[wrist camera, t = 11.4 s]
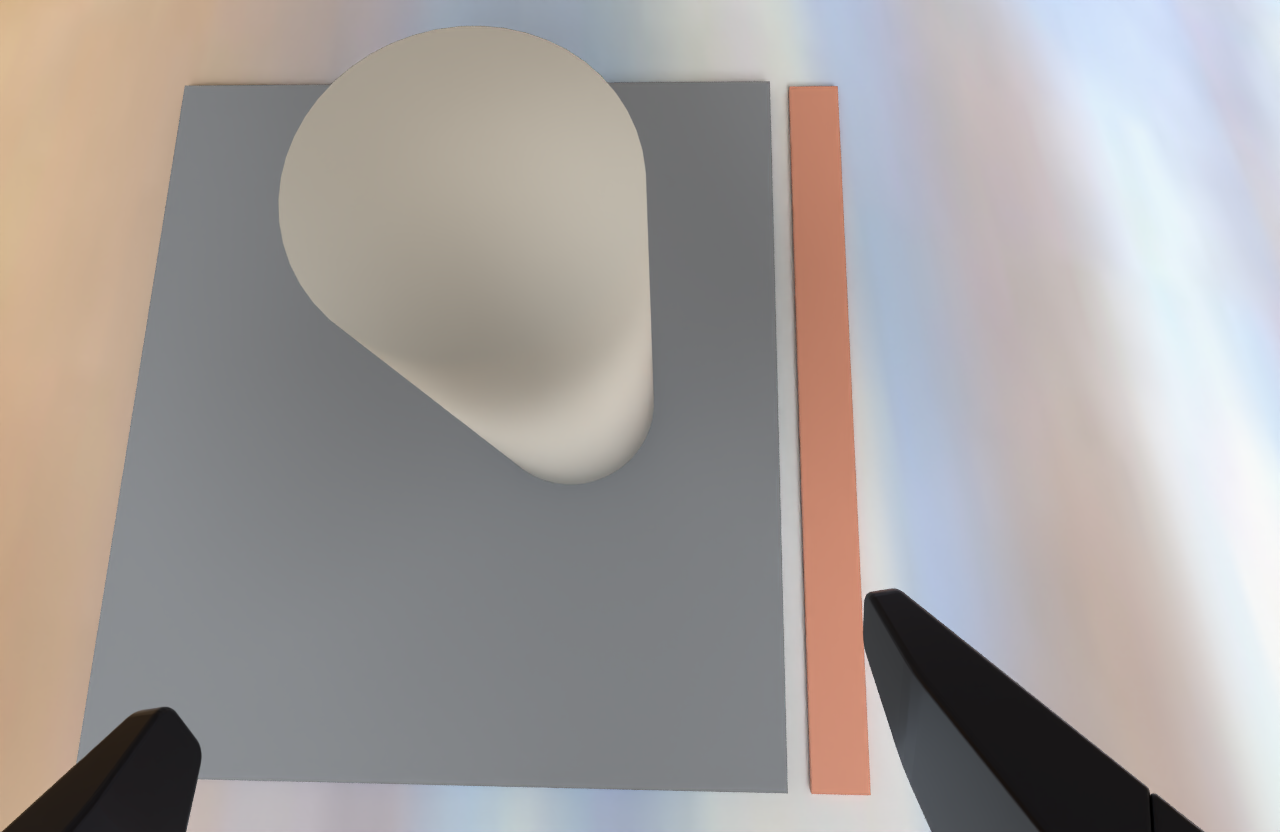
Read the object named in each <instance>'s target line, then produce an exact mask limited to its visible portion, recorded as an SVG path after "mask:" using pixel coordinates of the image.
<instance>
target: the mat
mask: <svg viewBox="0 0 1280 832" xmlns="http://www.w3.org/2000/svg"><path fill="white" fill-rule="evenodd" d="M608 84H609V85H610V87H611V88H612V89H613V90H614V91H615V92H616V94H617V95H618V97H619V98H620V100H621V102H622V103H623V105H624V106H625V108H626V109H627V111H628V113H629V115H630V117H631V119H632V122H633V124H634V126H635V128H636V130H637V134H638V137H639V140H640V144H641V147H642V150H643V157H644V163H645V170H646V192H647V221H648V250H649V278H650V307H651V336H652V365H653V393H654V409H653V417H652V421H651V425H650V429H649V431H648V434H647V436H646V438H645V440H644V442H643V443H642V445H641V447H640V448H639V450H638V451H637V452H636V454H635V455H634V456H633V457H632V458H631V459H630V460H629V461H628V462H627V463H626V464H625V465H624V466H622V467H621V468H620V469H618V470H617V471H615V472H613V473H612V474H610V475H608V476H606V477H604V478H601V479H599V480H596V481H592V482H589V483H583V484H558V483H553V482H549V481H545V480H542V479H540V478H537V477H535V476H533V475H531V474H530V473H528V472H526V471H525V470H523V469H522V468H521V467H519V466H518V465H517V464H516V463H514V462H513V461H512V460H510V459H509V458H508V457H507V456H505V455H504V454H503V453H501V452H500V451H499V450H497V449H496V448H495V447H494V446H492V445H491V444H490V443H488V442H487V441H486V440H485V439H483V438H482V437H481V436H479V435H478V434H477V433H475V432H474V431H473V430H472V429H470V428H469V427H468V426H466V425H465V424H464V423H463V422H461V421H460V420H459V419H457V418H456V417H455V416H453V415H452V414H451V413H450V412H448V411H447V410H446V409H444V408H443V407H442V406H441V405H439V404H438V403H437V402H435V401H434V400H433V399H431V398H430V397H429V396H428V395H426V394H425V393H424V392H422V391H421V390H420V389H419V388H417V387H416V386H415V385H413V384H412V383H411V382H410V381H408V380H407V379H406V378H404V377H403V376H402V375H400V374H399V373H398V372H397V371H395V370H394V369H393V368H391V367H390V366H389V365H388V364H386V363H385V362H384V361H382V360H381V359H380V358H378V357H377V356H376V355H375V354H373V353H372V352H371V351H369V350H368V349H367V348H366V347H364V346H363V345H362V344H360V343H359V342H358V341H356V340H355V339H354V338H353V337H351V336H350V335H349V334H347V333H346V332H345V331H344V330H342V329H341V328H340V327H338V326H337V325H336V324H335V323H333V322H332V321H331V320H329V319H328V318H327V316H326V315H325V314H324V313H323V312H322V311H321V310H320V309H319V308H318V307H317V306H316V305H315V304H314V303H313V302H312V300H311V299H310V297H309V296H308V295H307V293H306V292H305V290H304V289H303V288H302V286H301V285H300V283H299V281H298V279H297V277H296V275H295V273H294V271H293V269H292V267H291V265H290V263H289V260H288V257H287V254H286V251H285V248H284V245H283V241H282V235H281V229H280V224H279V202H278V199H279V190H280V181H281V175H282V171H283V167H284V163H285V159H286V156H287V153H288V151H289V148H290V146H291V143H292V141H293V138H294V136H295V134H296V132H297V130H298V129H299V127H300V125H301V123H302V121H303V120H304V118H305V116H306V115H307V113H308V112H309V111H310V109H311V108H312V106H313V105H314V104H315V102H316V101H317V100H318V98H319V97H320V96H321V95H322V94H323V93H324V92H325V91H326V90H327V89H328V88H329V86H330V85H217V86H185V89H184V95H183V101H182V107H181V114H180V120H179V126H178V132H177V139H176V145H175V151H174V157H173V164H172V170H171V176H170V182H169V189H168V195H167V201H166V207H165V214H164V220H163V226H162V232H161V239H160V245H159V251H158V257H157V264H156V270H155V276H154V282H153V288H152V295H151V301H150V307H149V313H148V320H147V326H146V332H145V338H144V345H143V351H142V357H141V363H140V370H139V376H138V382H137V388H136V395H135V401H134V407H133V413H132V420H131V426H130V432H129V438H128V445H127V451H126V457H125V463H124V470H123V476H122V482H121V488H120V495H119V501H118V507H117V513H116V520H115V526H114V532H113V538H112V545H111V551H110V557H109V563H108V570H107V576H106V582H105V588H104V595H103V601H102V607H101V613H100V620H99V626H98V632H97V638H96V644H95V651H94V657H93V663H92V669H91V676H90V682H89V688H88V694H87V701H86V707H85V713H84V719H83V726H82V732H81V738H80V744H79V751H78V757H77V763H78V762H79V761H80V760H81V759H82V758H83V757H84V756H86V755H87V754H88V753H89V752H90V751H91V750H92V749H93V748H94V747H95V746H97V745H98V744H99V743H100V742H101V741H102V740H103V739H104V738H105V737H106V736H107V735H109V734H110V733H111V732H112V731H113V730H114V729H115V728H116V727H117V726H118V725H120V724H121V723H122V722H123V721H124V720H125V719H126V718H127V717H129V716H130V715H131V714H133V713H135V712H137V711H140V710H145V709H151V708H158V707H170V708H172V709H174V710H175V711H176V712H177V714H178V715H179V716H180V718H181V719H182V720H183V722H184V723H185V724H186V726H187V727H188V728H189V730H190V731H191V732H192V734H193V735H194V736H195V738H196V739H197V740H198V742H199V744H200V747H201V753H202V759H201V766H200V771H199V775H198V779H212V780H254V781H296V782H338V783H380V784H422V785H464V786H506V787H547V788H589V789H631V790H673V791H715V792H757V793H788V788H787V748H786V708H785V669H784V629H783V589H782V550H781V510H780V470H779V431H778V391H777V351H776V312H775V272H774V232H773V193H772V153H771V114H770V82H636V83H608ZM77 763H76V764H77Z"/></svg>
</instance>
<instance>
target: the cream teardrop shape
mask: <svg viewBox="0 0 1280 832" xmlns="http://www.w3.org/2000/svg"><path fill="white" fill-rule="evenodd" d="M278 202H279V224H280V229H281V235H282V241H283V245H284V248H285V251H286V254H287V257H288V260H289V263H290V265H291V267H292V269H293V271H294V273H295V275H296V277H297V279H298V281H299V283H300V285H301V286H302V288H303V289H304V290H305V292H306V293H307V295H308V296H309V297H310V299H311V300H312V302H313V303H314V304H315V305H316V306H317V307H318V308H319V309H320V310H321V311H322V312H323V313H324V314H325V315H326V316H327V318H328V319H329V320H331V321H332V322H333V323H335V324H336V325H337V326H338V327H340V328H341V329H342V330H344V331H345V332H346V333H347V334H349V335H350V336H351V337H353V338H354V339H355V340H356V341H358V342H359V343H360V344H362V345H363V346H364V347H366V348H367V349H368V350H369V351H371V352H372V353H373V354H375V355H376V356H377V357H378V358H380V359H381V360H382V361H384V362H385V363H386V364H388V365H389V366H390V367H391V368H393V369H394V370H395V371H397V372H398V373H399V374H400V375H402V376H403V377H404V378H406V379H407V380H408V381H410V382H411V383H412V384H413V385H415V386H416V387H417V388H419V389H420V390H421V391H422V392H424V393H425V394H426V395H428V396H429V397H430V398H431V399H433V400H434V401H435V402H437V403H438V404H439V405H441V406H442V407H443V408H444V409H446V410H447V411H448V412H450V413H451V414H452V415H453V416H455V417H456V418H457V419H459V420H460V421H461V422H463V423H464V424H465V425H466V426H468V427H469V428H470V429H472V430H473V431H474V432H475V433H477V434H478V435H479V436H481V437H482V438H483V439H485V440H486V441H487V442H488V443H490V444H491V445H492V446H494V447H495V448H496V449H497V450H499V451H500V452H501V453H503V454H504V455H505V456H507V457H508V458H509V459H510V460H512V461H513V462H514V463H516V464H517V465H518V466H519V467H521V468H522V469H523V470H525V471H526V472H528V473H530V474H531V475H533V476H535V477H537V478H540V479H542V480H545V481H549V482H553V483H558V484H583V483H589V482H592V481H596V480H599V479H601V478H604V477H606V476H608V475H610V474H612V473H613V472H615V471H617V470H618V469H620V468H621V467H622V466H624V465H625V464H626V463H627V462H628V461H629V460H630V459H631V458H632V457H633V456H634V455H635V454H636V452H637V451H638V450H639V448H640V447H641V445H642V443H643V442H644V440H645V438H646V436H647V434H648V431H649V429H650V425H651V421H652V417H653V409H654V393H653V365H652V336H651V307H650V278H649V250H648V221H647V192H646V170H645V163H644V157H643V150H642V147H641V144H640V140H639V137H638V134H637V130H636V128H635V126H634V124H633V122H632V119H631V117H630V115H629V113H628V111H627V109H626V108H625V106H624V105H623V103H622V102H621V100H620V98H619V97H618V95H617V94H616V92H615V91H614V90H613V89H612V88H611V87H610V85H609V84H608V83H607V82H606V81H605V80H604V79H603V77H602V76H601V75H599V74H598V73H597V72H596V71H595V70H594V69H593V68H591V67H590V66H589V65H588V64H587V63H586V62H584V61H583V60H581V59H580V58H578V57H577V56H575V55H574V54H572V53H571V52H569V51H568V50H566V49H564V48H562V47H560V46H558V45H556V44H554V43H552V42H550V41H548V40H545V39H542V38H540V37H537V36H534V35H531V34H528V33H525V32H520V31H515V30H511V29H506V28H498V27H487V26H458V27H451V28H443V29H436V30H432V31H428V32H424V33H420V34H416V35H412V36H410V37H407V38H404V39H402V40H399V41H396V42H394V43H391V44H389V45H387V46H385V47H383V48H381V49H379V50H378V51H376V52H374V53H372V54H370V55H369V56H367V57H365V58H364V59H362V60H361V61H359V62H358V63H356V64H355V65H353V66H352V67H351V68H350V69H348V70H347V71H346V72H345V73H344V74H342V75H341V76H340V77H339V78H338V79H336V80H335V81H334V82H333V83H332V84H331V85H330V86H329V88H328V89H327V90H326V91H325V92H324V93H323V94H322V95H321V96H320V97H319V98H318V100H317V101H316V102H315V104H314V105H313V106H312V108H311V109H310V111H309V112H308V113H307V115H306V116H305V118H304V120H303V121H302V123H301V125H300V127H299V129H298V130H297V132H296V134H295V136H294V138H293V141H292V143H291V146H290V148H289V151H288V153H287V156H286V159H285V163H284V167H283V171H282V175H281V181H280V190H279V199H278Z"/></svg>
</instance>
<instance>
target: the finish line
mask: <svg viewBox="0 0 1280 832" xmlns="http://www.w3.org/2000/svg"><path fill="white" fill-rule="evenodd" d="M789 116H790V148H791V180H792V212H793V244H794V276H795V308H796V340H797V372H798V405H799V437H800V469H801V501H802V533H803V565H804V597H805V629H806V661H807V693H808V725H809V758H810V790H811V793H812V794H841V795H871V793H870V771H869V750H868V729H867V707H866V686H865V664H864V643H863V621H862V600H861V579H860V557H859V536H858V514H857V493H856V471H855V450H854V429H853V407H852V386H851V364H850V343H849V321H848V300H847V279H846V257H845V236H844V214H843V193H842V171H841V150H840V129H839V107H838V86H806V87H789Z"/></svg>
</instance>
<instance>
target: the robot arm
mask: <svg viewBox="0 0 1280 832" xmlns="http://www.w3.org/2000/svg"><path fill="white" fill-rule="evenodd" d="M863 642H864V647H865V652H866V655H867V658H868V661H869V664H870V667H871V671H872V674H873V677H874V680H875V683H876V686H877V689H878V692H879V695H880V698H881V702H882V705H883V708H884V711H885V714H886V717H887V720H888V723H889V726H890V729H891V732H892V736H893V739H894V742H895V745H896V748H897V751H898V754H899V757H900V760H901V762H902V765H903V768H904V770H905V773H906V775H907V778H908V780H909V782H910V785H911V787H912V789H913V792H914V794H915V796H916V798H917V800H918V803H919V805H920V807H921V809H922V812H923V814H924V816H925V818H926V821H927V823H928V825H929V827H930V829H931V832H1204V831H1203V830H1202V829H1200V828H1199V827H1198V826H1196V825H1195V824H1194V823H1192V822H1191V821H1190V820H1189V819H1187V818H1186V817H1185V816H1184V815H1182V814H1181V813H1180V812H1178V811H1177V810H1176V809H1175V808H1173V807H1172V806H1171V805H1170V804H1168V803H1167V802H1166V801H1165V800H1163V799H1162V798H1161V797H1160V796H1158V795H1157V794H1154V793H1153V794H1151V795H1150V791H1149V788H1148V787H1147V786H1145V785H1144V784H1143V783H1142V782H1140V781H1139V780H1138V779H1137V778H1135V777H1134V776H1133V775H1132V774H1130V773H1129V772H1128V771H1127V770H1125V769H1124V768H1123V767H1122V766H1120V765H1119V764H1118V763H1117V762H1115V761H1114V760H1113V759H1112V758H1110V757H1109V756H1108V755H1107V754H1105V753H1104V752H1103V751H1102V750H1100V749H1099V748H1098V747H1097V746H1095V745H1094V744H1093V743H1092V742H1090V741H1089V740H1088V739H1087V738H1085V737H1084V736H1083V735H1082V734H1080V733H1079V732H1078V731H1077V730H1075V729H1074V728H1073V727H1072V726H1070V725H1069V724H1068V723H1067V722H1065V721H1064V720H1063V719H1062V718H1060V717H1059V716H1058V715H1056V714H1055V713H1054V712H1053V711H1051V710H1050V709H1049V708H1048V707H1046V706H1045V705H1044V704H1043V703H1041V702H1040V701H1039V700H1038V699H1036V698H1035V697H1034V696H1033V695H1031V694H1030V693H1029V692H1028V691H1026V690H1025V689H1024V688H1023V687H1021V686H1020V685H1019V684H1018V683H1016V682H1015V681H1014V680H1013V679H1011V678H1010V677H1009V676H1008V675H1006V674H1005V673H1004V672H1003V671H1001V670H1000V669H999V668H998V667H996V666H995V665H994V664H993V663H991V662H990V661H989V660H988V659H986V658H985V657H984V656H983V655H981V654H980V653H979V652H978V651H976V650H975V649H974V648H973V647H971V646H970V645H969V644H967V643H966V642H965V641H964V640H962V639H961V638H960V637H959V636H957V635H956V634H955V633H954V632H952V631H951V630H950V629H949V628H947V627H946V626H945V625H944V624H942V623H941V622H940V621H939V620H937V619H936V618H935V617H934V616H932V615H931V614H930V613H929V612H927V611H926V610H925V609H924V608H922V607H921V606H920V605H919V604H917V603H916V602H915V601H914V600H912V599H911V598H910V597H909V596H907V595H906V594H905V593H904V592H902V591H901V590H898V589H886V590H879V591H873V592H869V593H868V594H867V595H866V597H865V600H864V620H863ZM201 759H202V753H201V747H200V744H199V742H198V740H197V739H196V738H195V736H194V735H193V734H192V732H191V731H190V730H189V728H188V727H187V726H186V724H185V723H184V722H183V720H182V719H181V718H180V716H179V715H178V714H177V712H176V711H175V710H174V709H172V708H170V707H158V708H151V709H145V710H140V711H137V712H135V713H133V714H131V715H130V716H129V717H127V718H126V719H125V720H124V721H123V722H122V723H121V724H120V725H118V726H117V727H116V728H115V729H114V730H113V731H112V732H111V733H110V734H109V735H107V736H106V737H105V738H104V739H103V740H102V741H101V742H100V743H99V744H98V745H97V746H95V747H94V748H93V749H92V750H91V751H90V752H89V753H88V754H87V755H86V756H84V757H83V758H82V759H81V760H80V761H79V762H78V763H77V764H76V765H75V766H73V767H72V768H71V769H70V770H69V771H68V772H67V773H66V774H65V775H64V776H63V777H61V778H60V779H59V780H58V781H57V782H56V783H55V784H54V785H53V786H52V787H50V788H49V789H48V790H47V791H46V792H45V793H44V794H43V795H42V796H41V797H39V798H38V799H37V800H36V801H35V802H34V803H33V804H32V805H31V806H30V807H29V808H27V809H26V810H25V811H24V812H23V813H22V814H21V815H20V816H19V817H18V818H16V819H15V820H14V821H13V822H12V823H11V824H10V825H9V826H8V827H7V828H6V829H4V830H3V831H2V832H186V830H187V825H188V821H189V816H190V812H191V807H192V802H193V798H194V793H195V789H196V784H197V780H198V775H199V771H200V766H201Z"/></svg>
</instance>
